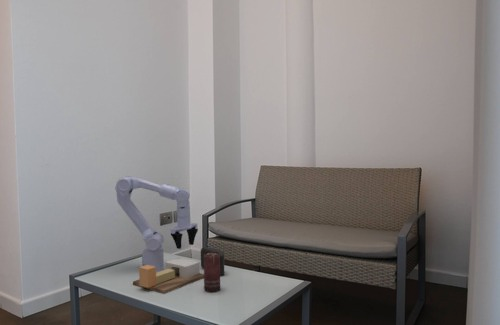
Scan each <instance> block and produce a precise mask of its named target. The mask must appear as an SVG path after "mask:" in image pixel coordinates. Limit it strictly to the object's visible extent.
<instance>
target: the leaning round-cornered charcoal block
mask: <svg viewBox="0 0 500 325" xmlns="http://www.w3.org/2000/svg"><path fill="white" fill-rule="evenodd" d="M207 252H218V253H219V255H220V276H224V274H225V254H224V252H223V251H222V250H220V249H217V248H213V247H207V246H205V247H202V248H201V249H200V266H201V267H200V268H202V269H203V270H204V254H205V253H207Z"/></svg>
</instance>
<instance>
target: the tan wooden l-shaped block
mask: <svg viewBox="0 0 500 325" xmlns="http://www.w3.org/2000/svg"><path fill="white" fill-rule="evenodd" d="M138 271H139V272H138V276H139V279H138V280H139V285H140V286H143V287H147V288H149V287H152V286H155V285H156V284H159V283H161V282H164V281H167V280H170V279H173V278H175V270H172V269H165V270H162V271H159V272H156V267H154V266H150V265H145V266H142V265H141V266H139V267H138ZM140 286H139V287H140ZM143 287H142V288H143Z"/></svg>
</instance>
